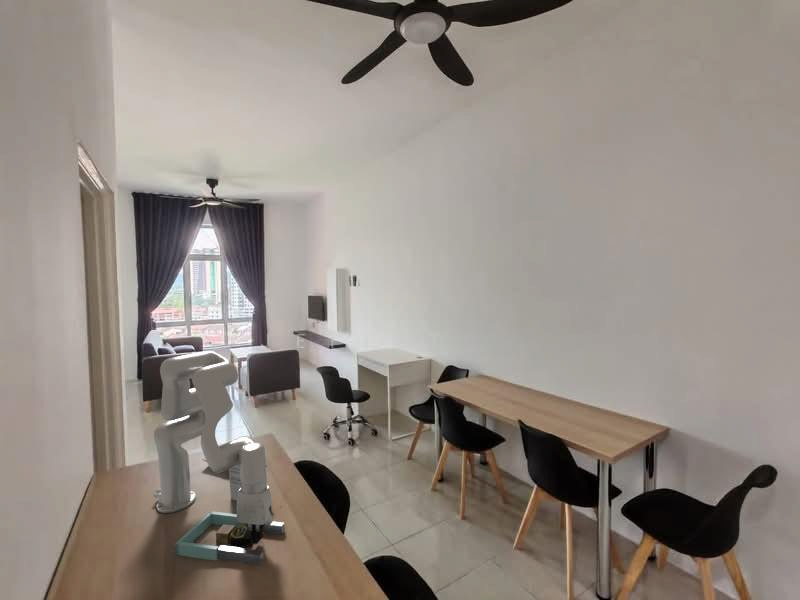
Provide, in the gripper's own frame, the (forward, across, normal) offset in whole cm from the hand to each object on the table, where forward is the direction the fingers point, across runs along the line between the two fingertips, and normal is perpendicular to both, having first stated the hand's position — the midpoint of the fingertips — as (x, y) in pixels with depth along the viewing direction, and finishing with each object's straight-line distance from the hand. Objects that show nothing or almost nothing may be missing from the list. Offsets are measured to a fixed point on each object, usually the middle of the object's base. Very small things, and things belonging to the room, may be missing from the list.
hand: (257, 540), depth 117 cm
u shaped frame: (+1, -16, 0) cm, 16 cm away
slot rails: (+2, -2, 0) cm, 2 cm away
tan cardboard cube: (+1, -11, 0) cm, 11 cm away
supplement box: (+1, -18, +24) cm, 30 cm away
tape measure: (+2, -5, +1) cm, 5 cm away
